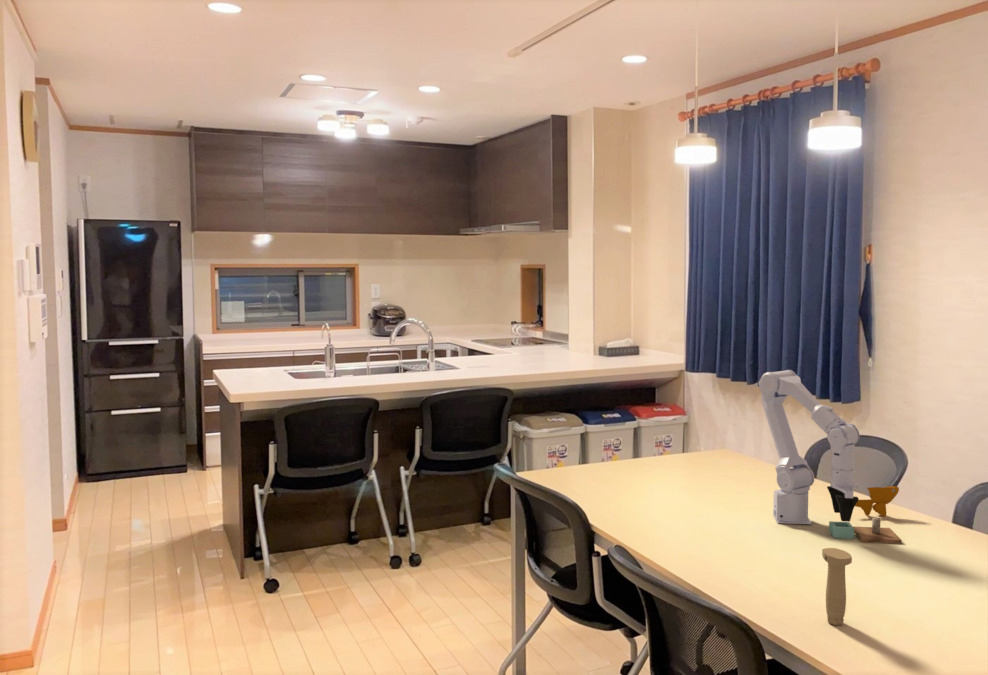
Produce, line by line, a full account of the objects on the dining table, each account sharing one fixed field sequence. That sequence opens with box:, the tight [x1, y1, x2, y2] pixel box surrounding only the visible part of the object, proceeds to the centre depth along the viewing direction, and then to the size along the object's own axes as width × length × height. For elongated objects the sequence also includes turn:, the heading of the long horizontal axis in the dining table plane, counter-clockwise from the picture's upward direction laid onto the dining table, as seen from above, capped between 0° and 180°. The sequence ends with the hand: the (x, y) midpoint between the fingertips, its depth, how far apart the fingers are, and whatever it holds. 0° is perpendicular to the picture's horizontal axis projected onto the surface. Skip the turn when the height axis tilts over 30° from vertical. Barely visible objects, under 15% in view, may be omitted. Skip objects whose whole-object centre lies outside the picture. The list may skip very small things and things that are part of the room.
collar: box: [828, 521, 855, 540], centre depth 221 cm, size 5×5×3 cm
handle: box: [821, 547, 853, 626], centre depth 167 cm, size 5×6×15 cm
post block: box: [853, 517, 903, 544], centre depth 220 cm, size 10×10×5 cm
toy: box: [855, 485, 900, 518], centre depth 238 cm, size 3×16×10 cm, turn 89°
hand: (841, 516), depth 221 cm, fingers open, 7 cm apart
